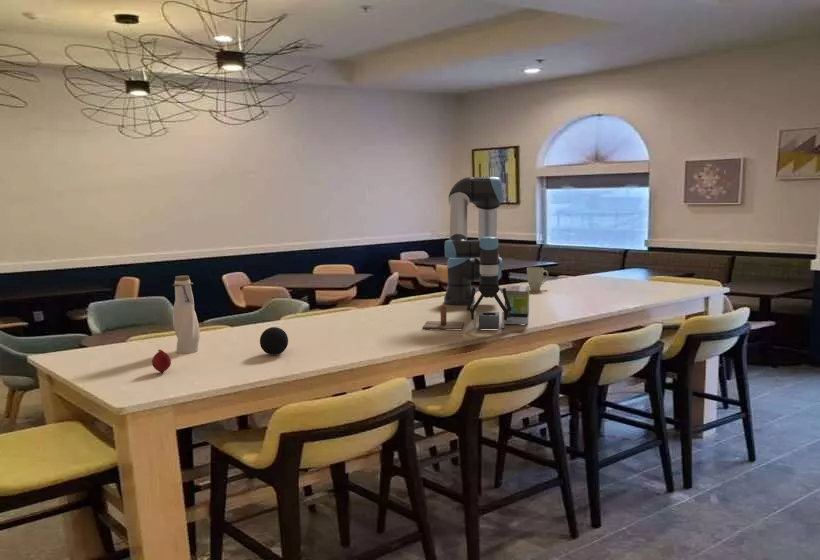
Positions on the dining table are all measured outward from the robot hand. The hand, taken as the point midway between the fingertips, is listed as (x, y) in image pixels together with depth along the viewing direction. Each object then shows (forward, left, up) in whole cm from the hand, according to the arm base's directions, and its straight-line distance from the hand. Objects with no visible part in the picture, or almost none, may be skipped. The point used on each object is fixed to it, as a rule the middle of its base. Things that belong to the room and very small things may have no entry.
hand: (489, 327), depth 278 cm
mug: (-95, +20, 0) cm, 97 cm away
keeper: (-1, -19, 0) cm, 19 cm away
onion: (+75, -103, 0) cm, 127 cm away
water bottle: (+48, -108, 0) cm, 118 cm away
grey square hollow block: (0, 0, 0) cm, 0 cm away
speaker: (+49, -74, 0) cm, 89 cm away
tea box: (-14, +11, -1) cm, 18 cm away
